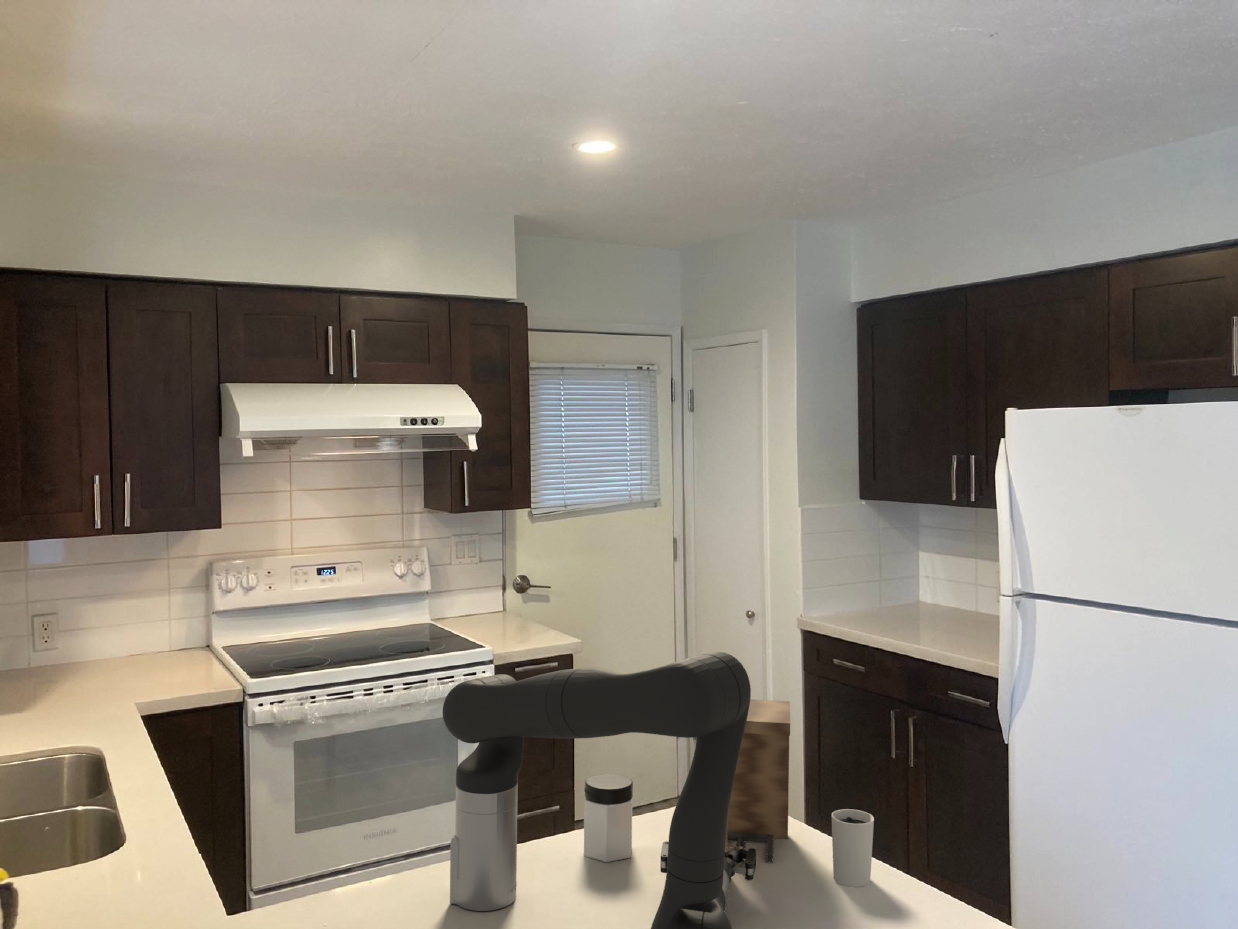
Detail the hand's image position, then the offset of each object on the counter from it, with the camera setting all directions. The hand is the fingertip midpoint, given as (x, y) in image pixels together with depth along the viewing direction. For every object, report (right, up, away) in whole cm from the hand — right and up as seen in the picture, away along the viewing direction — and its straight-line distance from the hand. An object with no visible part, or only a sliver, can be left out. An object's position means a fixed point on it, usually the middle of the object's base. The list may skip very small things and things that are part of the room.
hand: (711, 841), depth 155 cm
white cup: (+22, -7, +2) cm, 24 cm away
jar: (-16, -7, +12) cm, 21 cm away
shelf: (+7, -7, +13) cm, 16 cm away
